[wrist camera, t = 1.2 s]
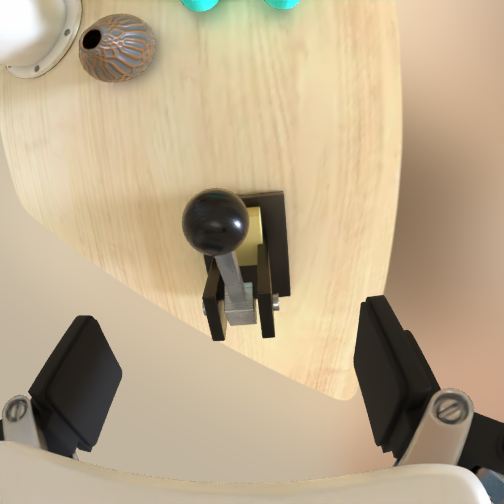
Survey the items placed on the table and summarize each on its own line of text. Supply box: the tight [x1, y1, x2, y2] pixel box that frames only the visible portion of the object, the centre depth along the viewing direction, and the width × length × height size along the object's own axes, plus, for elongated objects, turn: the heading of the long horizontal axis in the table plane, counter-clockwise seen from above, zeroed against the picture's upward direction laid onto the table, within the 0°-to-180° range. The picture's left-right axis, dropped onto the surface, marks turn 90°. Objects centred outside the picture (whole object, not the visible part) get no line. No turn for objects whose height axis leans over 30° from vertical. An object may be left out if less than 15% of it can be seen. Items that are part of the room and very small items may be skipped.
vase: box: [79, 14, 156, 82], centre depth 20 cm, size 7×7×9 cm
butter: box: [235, 207, 263, 266], centre depth 30 cm, size 5×4×3 cm
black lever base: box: [202, 191, 290, 341], centre depth 28 cm, size 12×9×12 cm
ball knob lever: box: [182, 188, 257, 326], centre depth 20 cm, size 13×4×4 cm, turn 8°
